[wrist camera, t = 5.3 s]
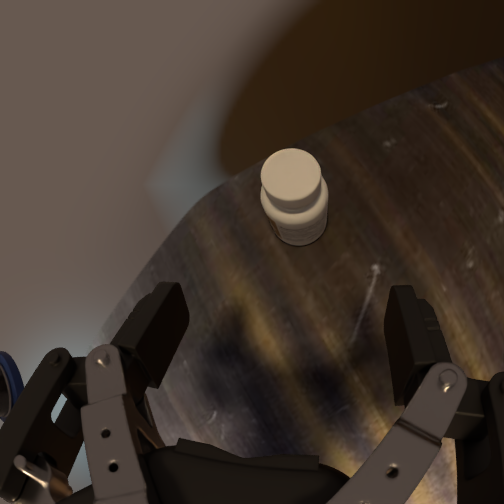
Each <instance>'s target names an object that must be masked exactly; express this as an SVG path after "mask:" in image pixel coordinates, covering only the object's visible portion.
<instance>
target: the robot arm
mask: <svg viewBox="0 0 504 504" xmlns="http://www.w3.org/2000/svg"><path fill="white" fill-rule="evenodd" d="M188 325H189V310H188V307H187V304H186V301H185V298H184V295H183V291H182V288H181V285H180V284H179V283H177V282H159V283H158V285H157V286H156V288H155V289H154V290H153V292H152V293H149V294H147V295H146V296H145V297H144V298H142V299H141V300H140V301H139V302H138V303H137V305H136V306H135V308H134V309H133V312H131V313H130V315H129V316H128V319H126V321H125V322H124V324H123V325H122V327H121V328H120V329H119V331H118V332H117V334H116V335H115V337H114V338H113V340H112V341H111V343H110V344H105V345H100V346H98V347H96V348H94V349H93V350H92V351H91V352H90V353H89V354H88V356H87V357H72V356H71V355H70V353H69V352H68V350H66V349H65V348H55V349H53V350H51V351H50V352H49V353H47V354H46V355H45V357H44V358H43V360H42V361H41V363H40V364H39V366H38V367H37V369H36V370H35V372H34V373H33V375H32V376H31V378H30V380H29V381H28V383H27V384H26V386H25V387H24V389H23V391H22V392H21V394H20V396H19V397H18V399H17V401H16V402H15V404H14V406H13V394H12V388H11V384H10V380H9V377H8V375H7V372H6V370H5V368H4V366H3V365H2V363H1V362H0V417H7V418H6V420H5V422H4V423H3V425H2V427H1V429H0V497H1V498H3V499H4V500H6V501H7V502H9V503H11V504H404V503H405V502H406V501H407V499H408V498H409V497H410V495H411V494H412V493H413V491H414V490H415V488H416V487H417V485H418V484H419V482H420V481H421V479H422V478H423V476H424V475H425V473H426V472H427V470H428V469H429V467H430V465H431V464H432V462H433V460H434V459H435V457H436V455H437V454H438V452H439V450H440V448H441V445H442V443H441V440H442V438H443V437H446V438H452V439H455V449H456V464H457V504H504V372H499V373H497V374H495V375H494V376H493V377H492V379H491V380H490V381H482V380H476V379H471V378H468V377H466V375H465V373H464V371H463V370H462V369H461V368H460V367H459V366H457V365H456V364H453V363H452V361H451V358H450V354H449V351H448V348H447V345H446V342H445V339H444V336H443V334H442V331H441V330H440V325H439V323H438V321H437V317H436V315H435V312H434V309H433V308H432V306H431V305H430V304H429V303H428V302H427V301H426V300H425V299H417V297H416V295H415V292H414V289H413V287H412V286H411V285H399V286H392V287H391V289H390V294H389V299H388V303H387V308H386V313H385V317H384V335H385V341H386V346H387V352H388V358H389V365H390V371H391V378H392V386H393V394H394V402H395V406H401V405H404V406H405V410H404V412H403V413H402V415H401V416H400V418H399V419H398V420H397V421H396V422H395V424H394V425H393V426H392V428H391V429H390V430H389V432H388V433H387V435H386V436H385V437H384V439H383V440H382V441H381V442H380V444H379V445H378V446H377V448H376V449H375V450H374V451H373V453H372V454H371V455H370V456H369V458H368V459H367V460H366V461H365V462H364V464H363V465H362V466H361V467H360V468H359V469H358V471H357V472H356V473H355V474H354V475H353V476H352V477H351V478H349V477H348V476H347V475H345V474H344V473H343V472H341V471H339V470H337V469H335V468H333V467H330V466H328V465H324V464H321V463H319V456H317V455H291V454H279V455H272V456H263V457H254V458H242V457H239V456H236V455H234V454H231V453H229V452H227V451H224V450H222V449H220V448H217V447H215V446H213V445H210V444H205V443H200V442H195V441H191V440H186V439H182V438H179V439H178V442H177V445H175V446H165V444H164V442H163V440H162V439H161V437H160V435H159V433H158V430H157V427H156V424H155V421H154V418H153V415H152V412H151V408H150V405H149V402H148V398H147V395H146V394H145V391H146V389H147V386H148V387H152V388H157V389H158V388H159V386H160V384H161V382H162V380H163V378H164V376H165V373H166V371H167V369H168V367H169V365H170V363H171V361H172V359H173V356H174V354H175V352H176V350H177V348H178V346H179V344H180V342H181V340H182V338H183V336H184V334H185V331H186V329H187V327H188ZM61 394H63V395H64V396H65V397H66V398H67V401H66V402H65V404H64V406H63V408H62V410H61V412H60V414H59V416H58V418H57V419H56V421H55V423H53V421H52V419H51V412H52V410H53V408H54V406H55V404H56V402H57V401H58V399H59V397H60V395H61ZM83 441H84V442H85V449H86V455H87V460H88V466H89V471H90V476H91V481H92V484H91V485H89V486H87V487H85V488H83V489H81V490H79V491H77V492H75V493H73V490H72V488H71V487H70V486H69V484H68V476H69V474H70V472H71V469H72V467H73V464H74V462H75V460H76V457H77V455H78V453H79V450H80V448H81V446H82V444H83ZM72 493H73V494H72Z"/></svg>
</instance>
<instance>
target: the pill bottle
mask: <svg viewBox="0 0 504 504" xmlns="http://www.w3.org/2000/svg"><path fill="white" fill-rule="evenodd" d="M261 181H262V188H261V202H262V205H263V208H264V210H265V213H266V215H267V217H268V219H269V221H270V223H271V225H272V228H273V229H274V232H275V233H276V235H277V236H278V237H279V238H280V239H281V240H282V241H284V242H286V243H288V244H291V245H297V246H301V245H306V244H309V243H312V242H313V241H315V240H316V239H318V238H319V237H320V236H321V234H322V233H323V231H324V229H325V227H326V222H327V207H328V189H327V185H326V182H325V180H324V179H323V177H322V176H321V169H320V166H319V164H318V162H317V161H316V159H315V158H314V157H313V156H312V155H310V154H309V153H307V152H305V151H303V150H299V149H294V148H293V149H284V150H281V151H278V152H276V153H274V154H273V155H271V156H270V157H269V158H268V159H267V160H266V161H265V163H264V165H263V167H262V171H261Z"/></svg>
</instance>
